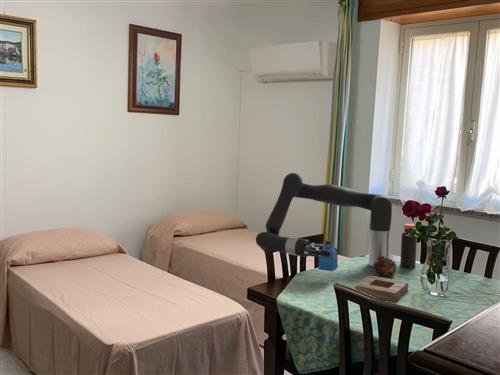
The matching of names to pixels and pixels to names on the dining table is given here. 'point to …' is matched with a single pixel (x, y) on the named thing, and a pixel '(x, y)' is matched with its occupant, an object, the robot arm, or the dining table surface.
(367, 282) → the walnut hole block
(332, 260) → the perfume bottle
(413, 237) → the vinegar
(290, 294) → the dining table surface
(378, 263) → the decorative turtle
